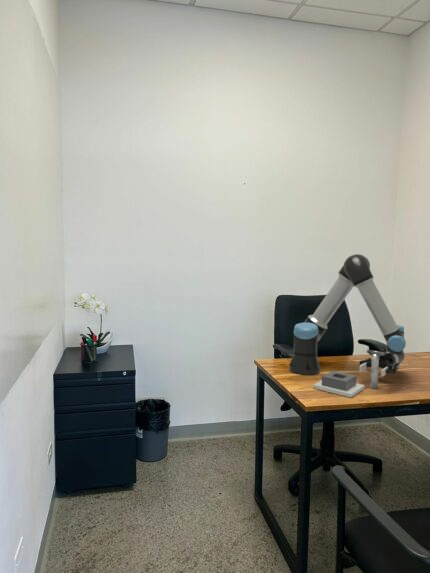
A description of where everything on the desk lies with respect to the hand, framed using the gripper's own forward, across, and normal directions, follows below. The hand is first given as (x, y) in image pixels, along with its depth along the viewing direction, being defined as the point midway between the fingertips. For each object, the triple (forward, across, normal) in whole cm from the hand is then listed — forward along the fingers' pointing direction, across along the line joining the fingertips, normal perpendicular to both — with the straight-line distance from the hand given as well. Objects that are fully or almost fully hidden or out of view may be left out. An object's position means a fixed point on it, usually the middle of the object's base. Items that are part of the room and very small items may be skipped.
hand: (371, 370), depth 174 cm
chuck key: (-5, 0, -8) cm, 10 cm away
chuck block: (+7, +11, -8) cm, 16 cm away
